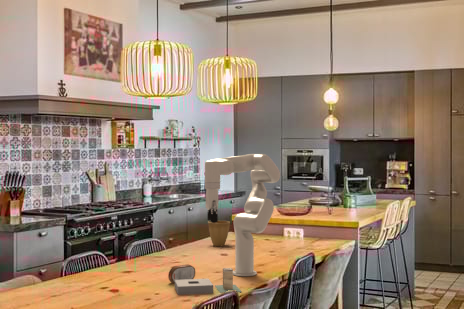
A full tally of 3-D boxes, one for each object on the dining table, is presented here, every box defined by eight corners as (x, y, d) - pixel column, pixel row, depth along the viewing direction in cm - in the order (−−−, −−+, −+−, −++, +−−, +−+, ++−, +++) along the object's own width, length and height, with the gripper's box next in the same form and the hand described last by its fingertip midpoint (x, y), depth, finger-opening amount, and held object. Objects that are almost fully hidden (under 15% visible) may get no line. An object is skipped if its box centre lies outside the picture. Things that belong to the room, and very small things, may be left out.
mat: (214, 286, 290) (214, 285, 290) (235, 285, 291) (235, 284, 291) (219, 293, 276) (219, 292, 276) (241, 292, 278) (241, 291, 278)
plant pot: (226, 247, 400) (226, 223, 400) (204, 246, 405) (204, 222, 405) (232, 244, 415) (233, 220, 414) (212, 243, 419) (212, 220, 419)
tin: (192, 279, 305) (192, 263, 305) (196, 280, 302) (196, 263, 302) (167, 284, 295) (167, 266, 295) (171, 285, 292) (171, 267, 292)
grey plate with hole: (174, 288, 286) (174, 279, 286) (208, 286, 289) (208, 278, 289) (177, 295, 272) (177, 286, 272) (213, 294, 275) (213, 285, 275)
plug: (222, 287, 285) (222, 268, 285) (231, 287, 286) (231, 267, 286) (224, 289, 281) (224, 270, 281) (232, 289, 282) (232, 269, 282)
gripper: (202, 184, 303) (202, 219, 304) (207, 187, 287) (207, 223, 287) (217, 184, 305) (216, 218, 305) (223, 187, 288) (223, 223, 288)
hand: (212, 221), depth 296 cm, fingers open, 9 cm apart
